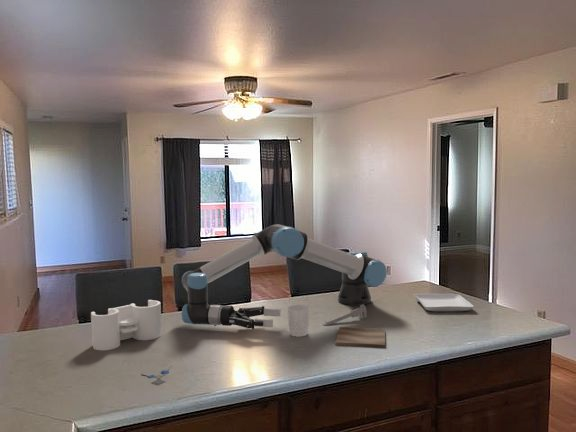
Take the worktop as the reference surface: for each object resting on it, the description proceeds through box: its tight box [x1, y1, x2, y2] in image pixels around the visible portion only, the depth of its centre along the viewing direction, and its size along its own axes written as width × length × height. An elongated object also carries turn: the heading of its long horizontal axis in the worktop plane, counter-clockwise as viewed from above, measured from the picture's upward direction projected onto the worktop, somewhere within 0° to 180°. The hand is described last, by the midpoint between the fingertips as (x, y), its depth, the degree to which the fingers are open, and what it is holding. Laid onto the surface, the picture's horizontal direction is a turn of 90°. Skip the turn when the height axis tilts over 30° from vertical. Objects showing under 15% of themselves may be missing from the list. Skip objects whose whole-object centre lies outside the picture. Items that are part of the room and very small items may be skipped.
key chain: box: [140, 365, 173, 386], centre depth 145 cm, size 14×8×1 cm, turn 4°
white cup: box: [287, 304, 310, 338], centre depth 181 cm, size 8×8×10 cm
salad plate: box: [413, 293, 475, 312], centre depth 216 cm, size 21×21×3 cm
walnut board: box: [335, 326, 386, 349], centre depth 176 cm, size 17×17×1 cm
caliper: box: [322, 304, 368, 327], centre depth 195 cm, size 20×1×6 cm, turn 117°
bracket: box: [90, 299, 163, 351], centre depth 175 cm, size 25×10×12 cm, turn 134°
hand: (276, 317), depth 182 cm, fingers open, 13 cm apart
